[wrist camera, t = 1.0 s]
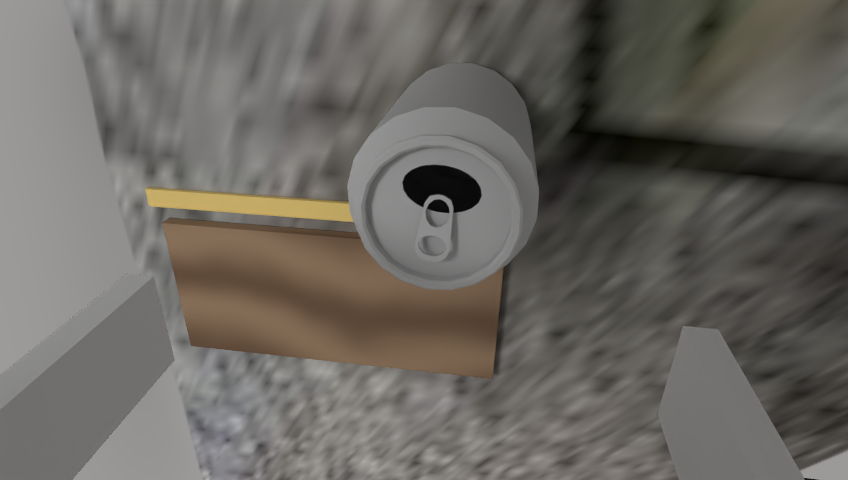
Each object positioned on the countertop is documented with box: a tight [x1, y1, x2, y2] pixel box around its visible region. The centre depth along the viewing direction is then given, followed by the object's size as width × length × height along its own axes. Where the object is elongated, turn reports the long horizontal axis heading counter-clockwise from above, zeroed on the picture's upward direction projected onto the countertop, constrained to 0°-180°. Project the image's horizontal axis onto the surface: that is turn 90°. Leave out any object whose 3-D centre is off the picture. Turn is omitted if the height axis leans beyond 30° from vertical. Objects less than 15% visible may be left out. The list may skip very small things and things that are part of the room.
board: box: [162, 218, 504, 379], centre depth 36 cm, size 10×22×1 cm, turn 89°
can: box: [347, 63, 539, 290], centre depth 25 cm, size 8×8×12 cm
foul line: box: [145, 187, 354, 222], centre depth 33 cm, size 1×24×1 cm, turn 89°
